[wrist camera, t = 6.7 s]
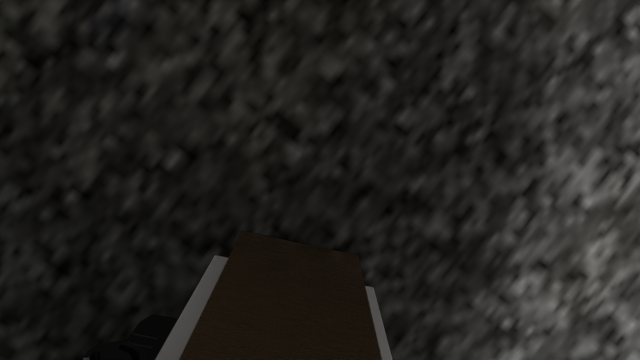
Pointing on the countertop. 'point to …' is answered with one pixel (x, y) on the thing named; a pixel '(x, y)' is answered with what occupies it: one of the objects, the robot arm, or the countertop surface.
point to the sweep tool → (285, 306)
